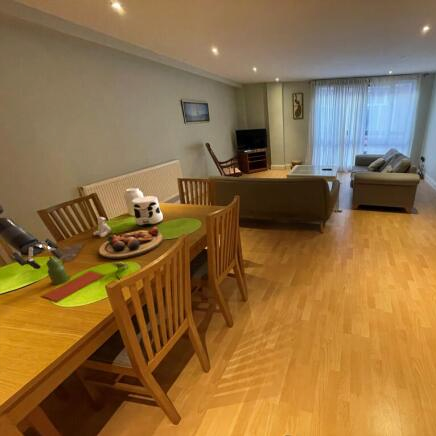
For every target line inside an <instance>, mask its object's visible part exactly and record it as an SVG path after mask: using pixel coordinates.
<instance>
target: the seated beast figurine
mask: <svg viewBox="0 0 436 436" xmlns="http://www.w3.org/2000/svg"><path fill="white" fill-rule="evenodd" d="M106 222H107V218H106V217H104V216H98V218H97V225H98V226H97V228H98V230H96V231H94V232H92V233H93V234H92V235H93V236H99V237H100V238H101V239H103V238H105V237H106V236H109V234H110V233H111V232H112V228H111V227H110V226H109V225H107V223H106Z"/></svg>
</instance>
